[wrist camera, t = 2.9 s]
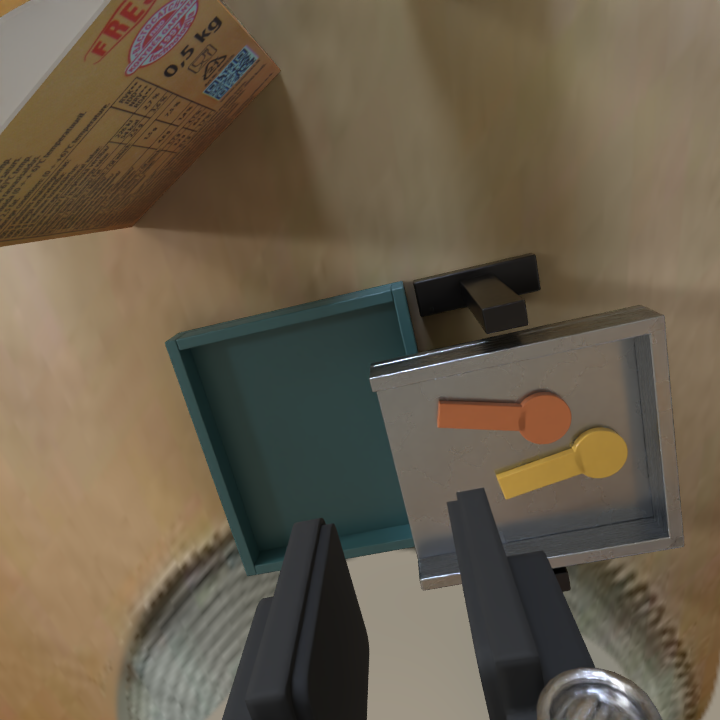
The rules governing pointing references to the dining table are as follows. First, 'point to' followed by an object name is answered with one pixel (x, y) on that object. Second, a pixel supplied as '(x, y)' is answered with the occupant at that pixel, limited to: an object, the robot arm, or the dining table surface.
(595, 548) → the key dish
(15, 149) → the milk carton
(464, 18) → the dining table surface
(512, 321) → the dish cradle
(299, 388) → the tray
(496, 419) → the copper key
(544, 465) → the brass key
